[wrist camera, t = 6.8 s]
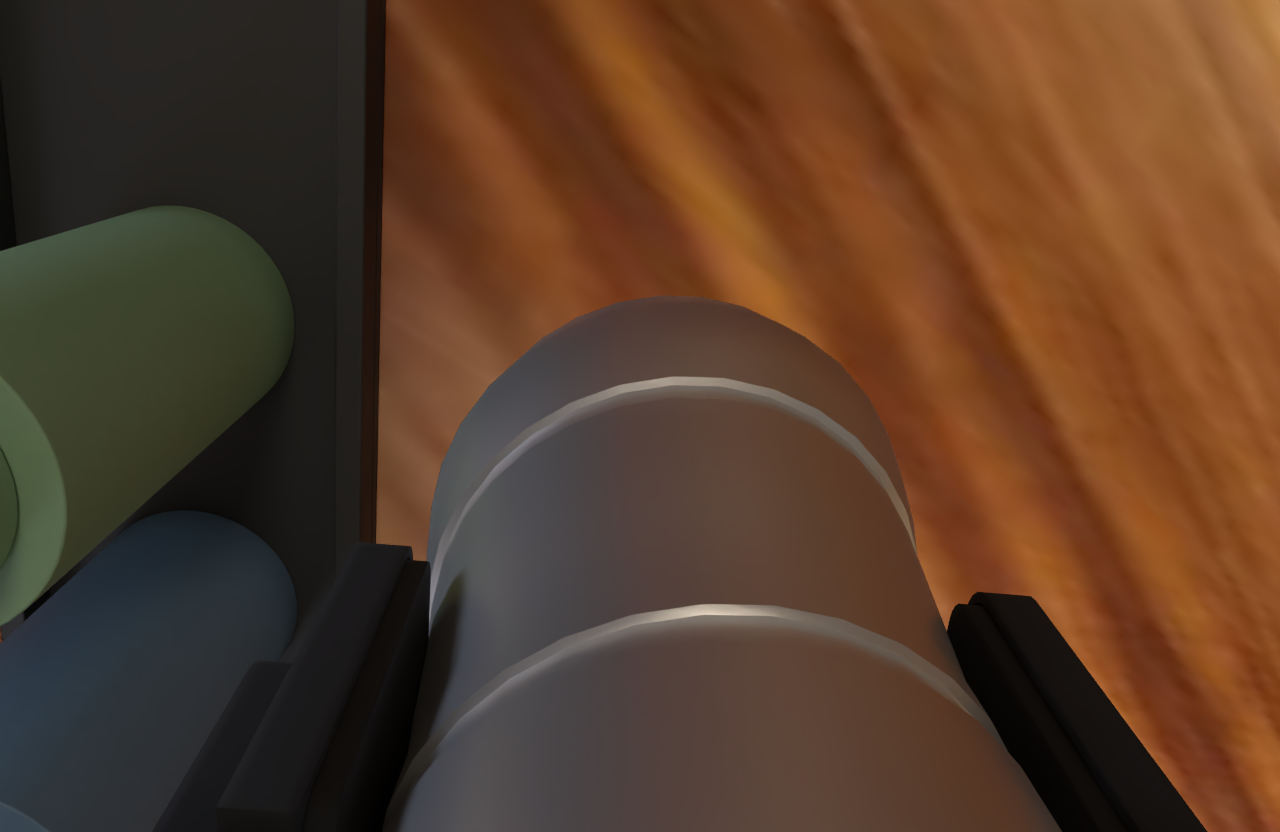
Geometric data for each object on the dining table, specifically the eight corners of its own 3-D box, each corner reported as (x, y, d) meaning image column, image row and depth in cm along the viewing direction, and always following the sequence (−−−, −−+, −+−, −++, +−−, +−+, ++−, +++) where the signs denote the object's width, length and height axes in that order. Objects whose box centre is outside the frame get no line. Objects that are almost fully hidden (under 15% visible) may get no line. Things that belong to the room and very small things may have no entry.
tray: (-52, -284, 26) (-109, -312, 24) (390, -233, 26) (370, -257, 24) (48, 713, 36) (14, 751, 34) (372, 739, 36) (357, 779, 34)
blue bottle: (91, 500, 32) (-674, 1117, 13) (297, 519, 33) (-173, 1151, 14) (105, 676, 34) (-542, 1425, 16) (298, 692, 35) (-107, 1449, 16)
